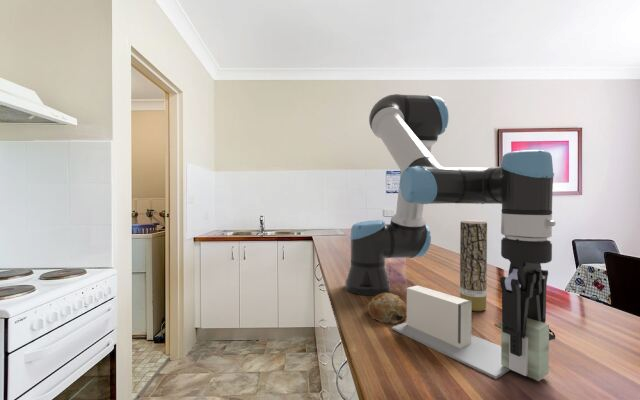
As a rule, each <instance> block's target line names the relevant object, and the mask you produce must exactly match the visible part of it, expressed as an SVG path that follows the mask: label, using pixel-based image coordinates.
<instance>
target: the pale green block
mask: <svg viewBox="0 0 640 400" xmlns="http://www.w3.org/2000/svg"><path fill="white" fill-rule="evenodd" d="M549 329H550V324H549V323H546V322H545V323H543V322H540V321H536V320H533V319H529V318H527V324H526V334H525V336H526V337H528V375H527V376H526V377H528V378H530V379H532V380H534V381H538V382H540V381H541V380H543V379H544V378H545V377H546V376H548V375H549V371H550V370H549V366H550V365H549V362H550V361H549V360H550V358H549V357H550V355H549V354H550V349H549V347H550V346H549V345H550V340H549V333H550V332H549ZM500 334H501V336H500V337H501V338H500V339H501V342H500V343H501V345H500V346H501V365H503V366H505V367H507V368H509V334H507V333H504V332H503V331H502V329H501V333H500Z"/></svg>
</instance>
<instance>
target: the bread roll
mask: <svg viewBox="0 0 640 400" xmlns="http://www.w3.org/2000/svg"><path fill="white" fill-rule="evenodd" d="M367 307H368V314H369V315H370V317H371V318H372V319H373V320H376V321H377V322H381V323H383V324H384V323H385V324H393V325H394V324H398V323H401V322H403V321H405V320H407V304H406V303H405V302H404V300H402V299H401V297H400V296H399V295H397V294H394V293H391V292H388V293H381V294H378V295H374V297H372V298H371V301H370V302H368V304H367Z"/></svg>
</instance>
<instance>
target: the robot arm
mask: <svg viewBox="0 0 640 400" xmlns="http://www.w3.org/2000/svg"><path fill="white" fill-rule="evenodd" d="M449 118H450V117H449V109H448V106H447V104H446V102H445V100H444V99H442V97H439V96H434V95H433V96H432V95H423V94H422V95H420V94H419V95H417V94H416V95H415V94H402V93H401V94H398V93H395V94H390V95H386V96H384V97H382V98H381V99H379V100H378V101H377V102H375V104H374V105H373V106H372V109H371V110H370V113H369V117H368V120H369V121H368V122H369V127H370V129H371V131H372V133H373V134H374V135H375V136H376V137H377V138H379V139H380V140H381V141H382V143H384V146H385V147H386V149H387V151H389V152H388V153H389V154H390V155H391V157H392V159H393V160H394V162H395V163H396V165H397V167H398V169H399V170H400V175H399V184H398V193H397V202H396V212H395V214H393V216H391V217H390V223H388V224H387V223H386V221H385V220H381V219H377V220H375V219H374V220H367V221H366V220H365V221H360V222H356V223H354V224H353V225H352V226H351V228H350V229H351V230H350V237H349V239H350V267H349V271H348V274H347V278H346V279H345V290H346V291H348V292H349V293H352V294H356V295H362V296H377V295H378V294H381V293H390V291H391V283H390V280H389V278H388V274H387V271H386V267H385V265H386V264H385V263H386V259H405V258H406V259H413V258H420V257H423V256H424V255H426V254H427V252H428V251H429V249H430V247H431V243H432V236H431V230H430V229H431V228H429V226H428V225H427V224H426V223H427V222H426V220H425V219H424V218H423V217H422V216H423V211H424V205H429V204H430V205H431V204H432V205H433V204H475V205H476V204H477V205H479V204H481V205H484V204H486V205H487V204H488V205H489V204H499V205H501V214H500V215H501V222H500V224H501V227H500V234H501V235H502V236H504V237H502V238H501V241H500V245H501V246H500V249H501V250H500V251H501V252H500V254H501V257H502V258H503V259H505V260H508V261H509V268H508V275H507V277H505V276H500V278H499V282H500V287H501V321H502V329H501V330H502V331H503V332H504V333H507V334H509V369H511V370H510V371H513V372H515V373H517V374H520V375H522V376H525V377H528V376H527V375H528V337H526V336H525V334H526V324H527V318H529V319H533V320H536V321H540V322H543V323H546V319H547V314H546V313H547V285H548V284H547V281H548V276H549V270H547V269H542V265H541V264H549V263H550V262H552V259H553V243H552V241H551V240H549V239H550V238H551V237H552V236H553V235H552V233H553V232H552V231H553V227H555V226H556V221H554V220H553V190H554V188H553V186H554V185H553V184H554V177H555V173H554V167H553V166H554V165H553V164H554V163H553V156H552V154H551V152H549V151H547V150H544V149H543V150H542V149H540V150H539V149H529V150H527V149H526V150H516V151H511V152H507V153H505V154H503V156H502V158H501V163H500V166H493V167H492V166H491V167H459V166H458V167H456V166H443V165H441V164H440V163H439V162H438V161H437V159H435V157H434V156H433V155H432V154H431V151H432V146H433V145H434V144H435V143H437V142H438V139H439V136H441V135H442V134H444V133H445V132H446V129H447V128H448V123H449Z"/></svg>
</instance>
